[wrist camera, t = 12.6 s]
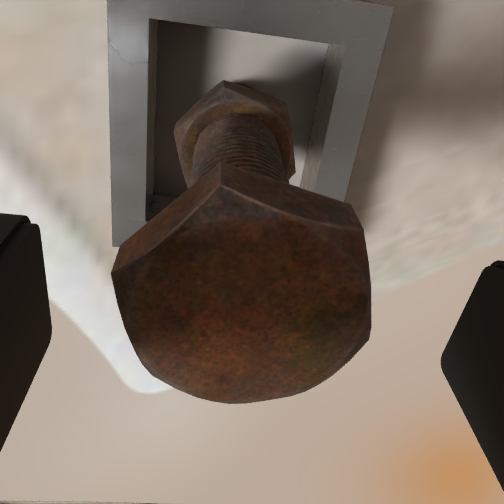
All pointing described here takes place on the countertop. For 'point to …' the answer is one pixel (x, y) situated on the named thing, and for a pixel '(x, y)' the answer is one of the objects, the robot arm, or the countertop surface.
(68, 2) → the countertop surface
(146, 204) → the frame
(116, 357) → the countertop surface
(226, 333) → the bolt
